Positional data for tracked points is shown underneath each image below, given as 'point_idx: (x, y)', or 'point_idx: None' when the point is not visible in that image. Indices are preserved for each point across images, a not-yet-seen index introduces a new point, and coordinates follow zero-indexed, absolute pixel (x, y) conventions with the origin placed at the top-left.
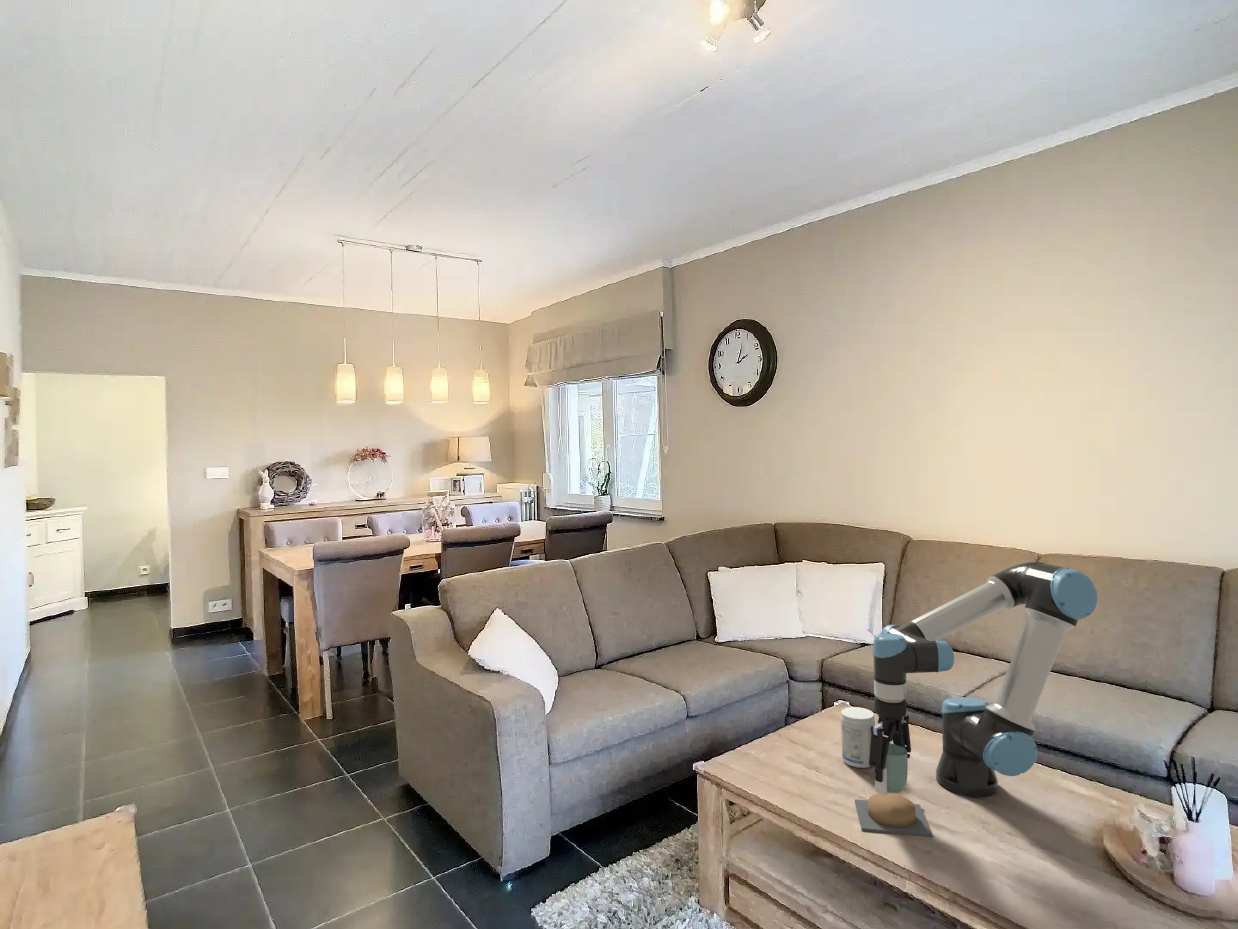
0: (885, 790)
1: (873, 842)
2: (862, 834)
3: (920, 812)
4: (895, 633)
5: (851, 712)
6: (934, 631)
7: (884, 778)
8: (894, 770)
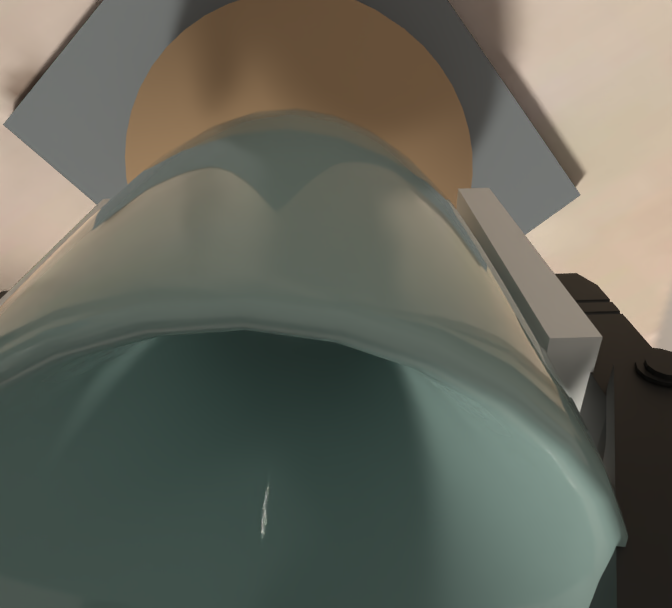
0: (499, 207)
1: (662, 63)
2: (610, 164)
3: (88, 56)
4: None
5: None
6: None
7: (548, 274)
8: (476, 243)
